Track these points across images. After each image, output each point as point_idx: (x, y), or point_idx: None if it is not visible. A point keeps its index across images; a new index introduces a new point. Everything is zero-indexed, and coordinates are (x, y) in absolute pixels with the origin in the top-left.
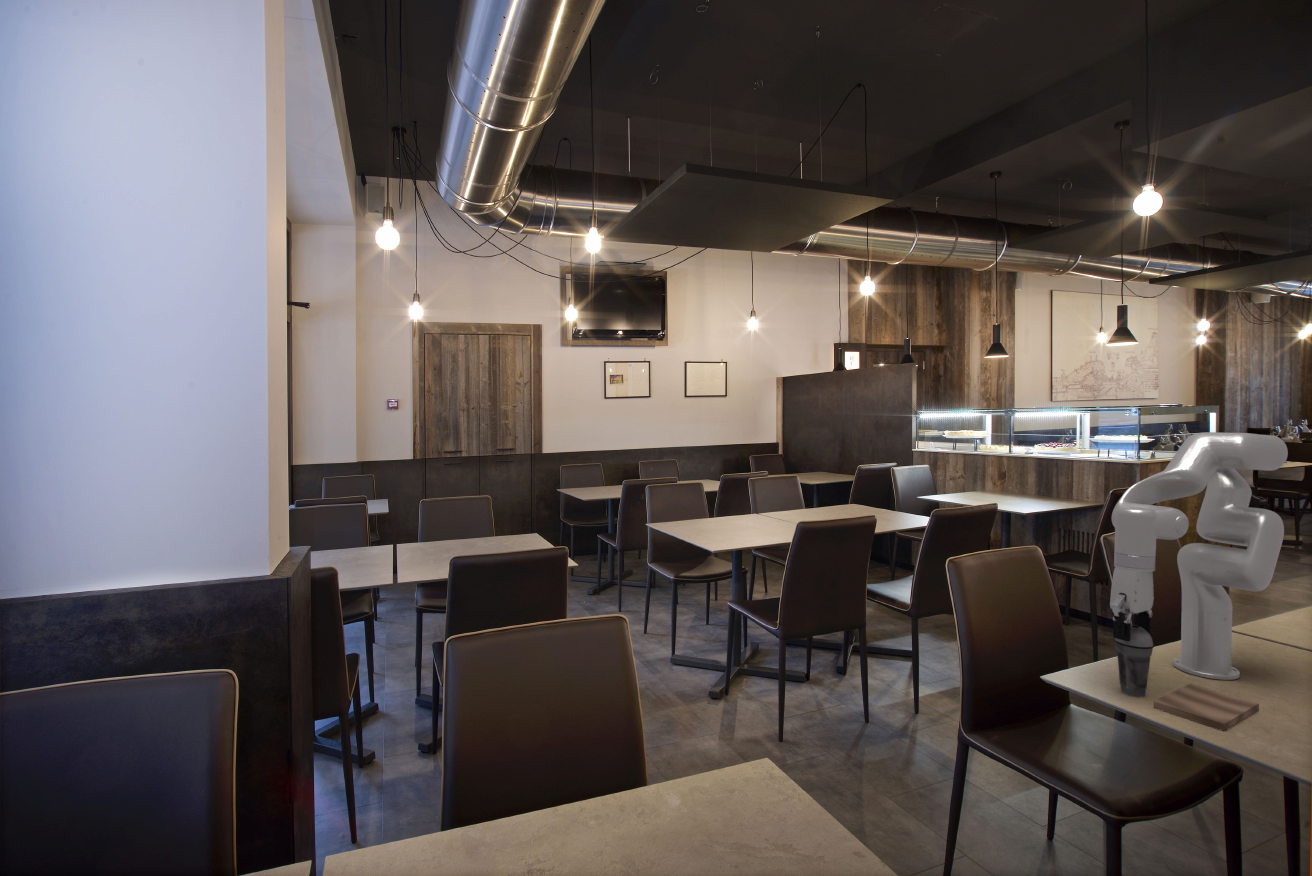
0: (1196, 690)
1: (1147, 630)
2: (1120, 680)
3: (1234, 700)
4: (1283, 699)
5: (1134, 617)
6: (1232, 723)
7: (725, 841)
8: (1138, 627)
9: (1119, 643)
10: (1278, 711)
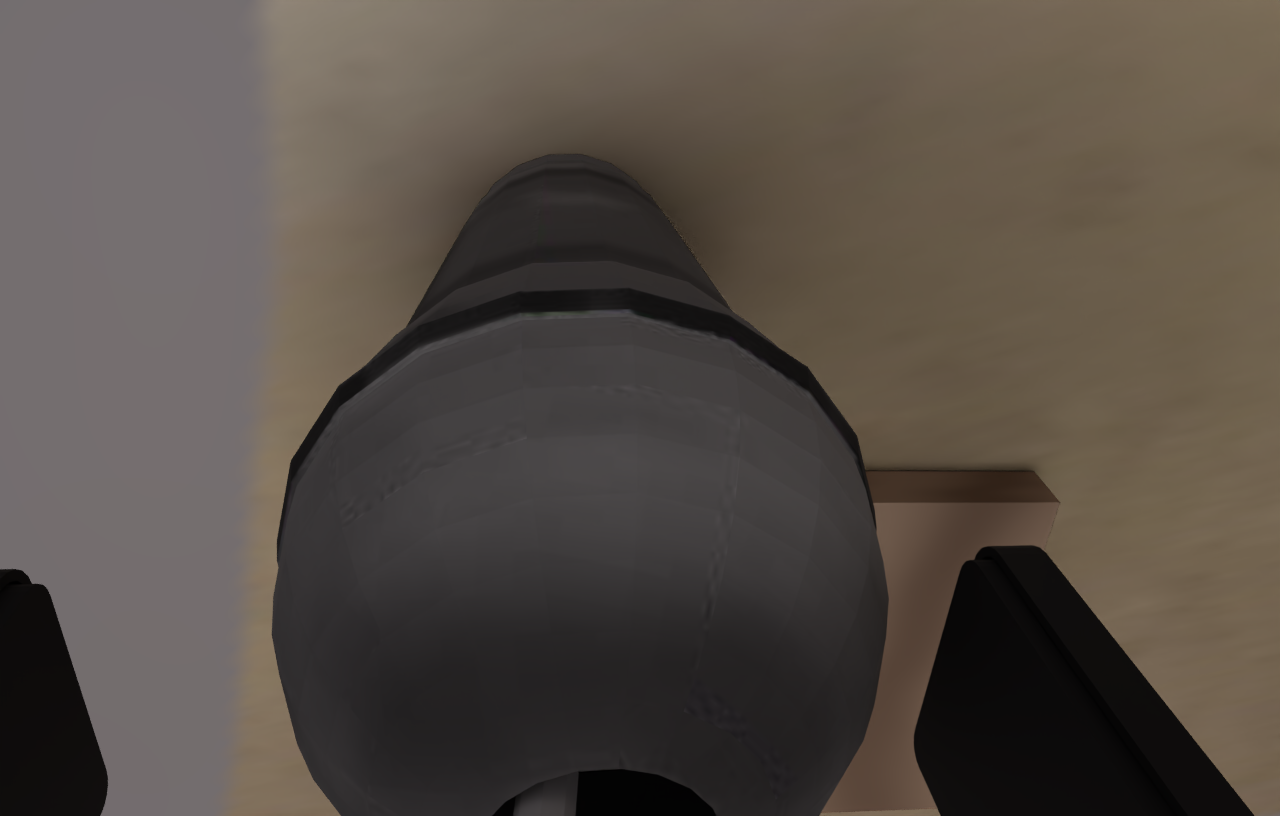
0: (914, 575)
1: (942, 794)
2: (480, 206)
3: (898, 739)
4: (1250, 772)
5: (1179, 795)
6: None
7: None
8: (800, 795)
9: (291, 471)
10: None
